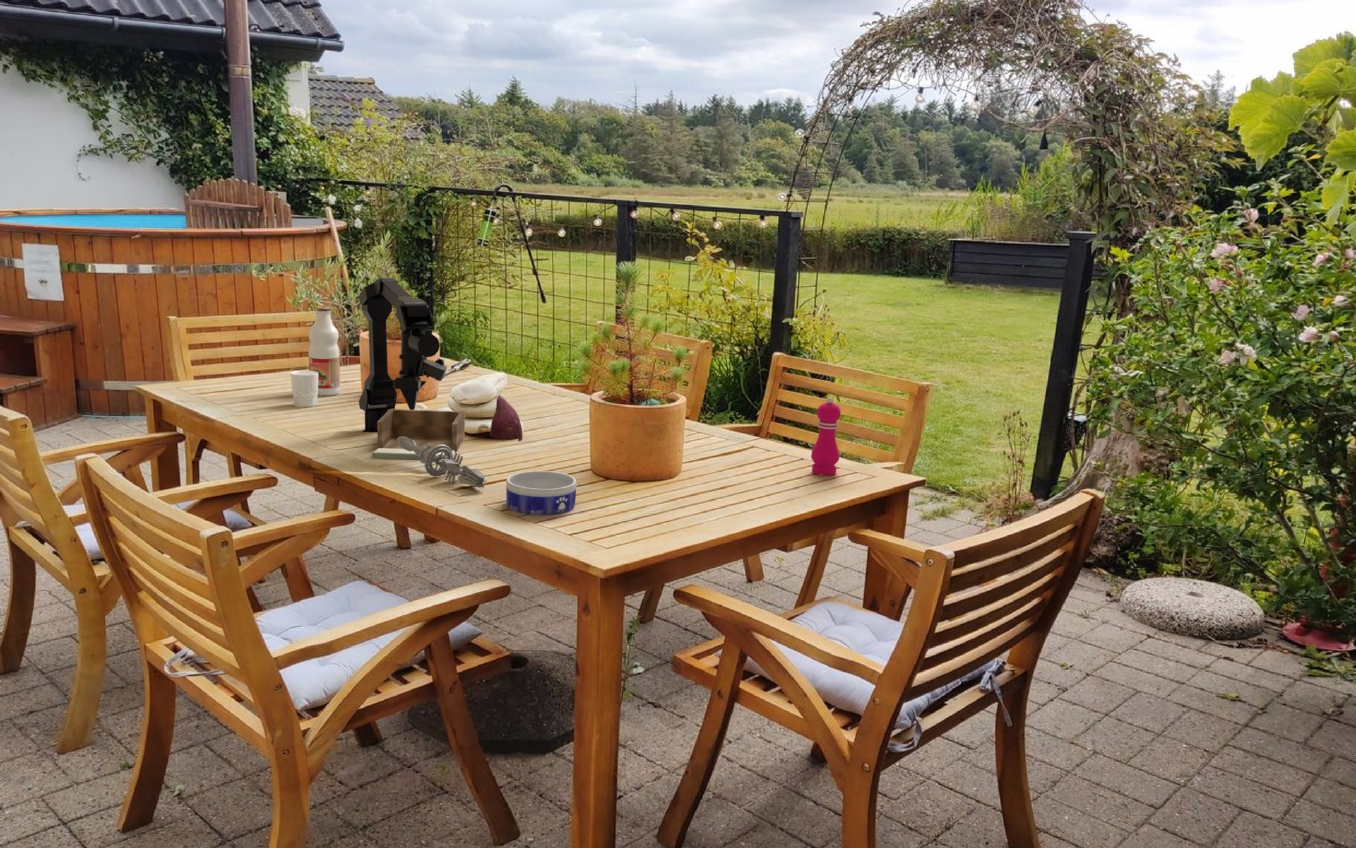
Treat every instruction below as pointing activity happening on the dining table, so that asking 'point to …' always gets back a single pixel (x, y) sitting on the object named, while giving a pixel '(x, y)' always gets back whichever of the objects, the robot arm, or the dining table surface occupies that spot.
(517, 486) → the dog bowl
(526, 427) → the dining table surface
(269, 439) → the dining table surface
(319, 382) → the fruit juice
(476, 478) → the spaceship
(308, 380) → the white cup
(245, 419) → the dining table surface
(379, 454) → the tailgate
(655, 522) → the dining table surface
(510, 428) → the vegetable
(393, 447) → the crate
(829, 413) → the pepper mill
